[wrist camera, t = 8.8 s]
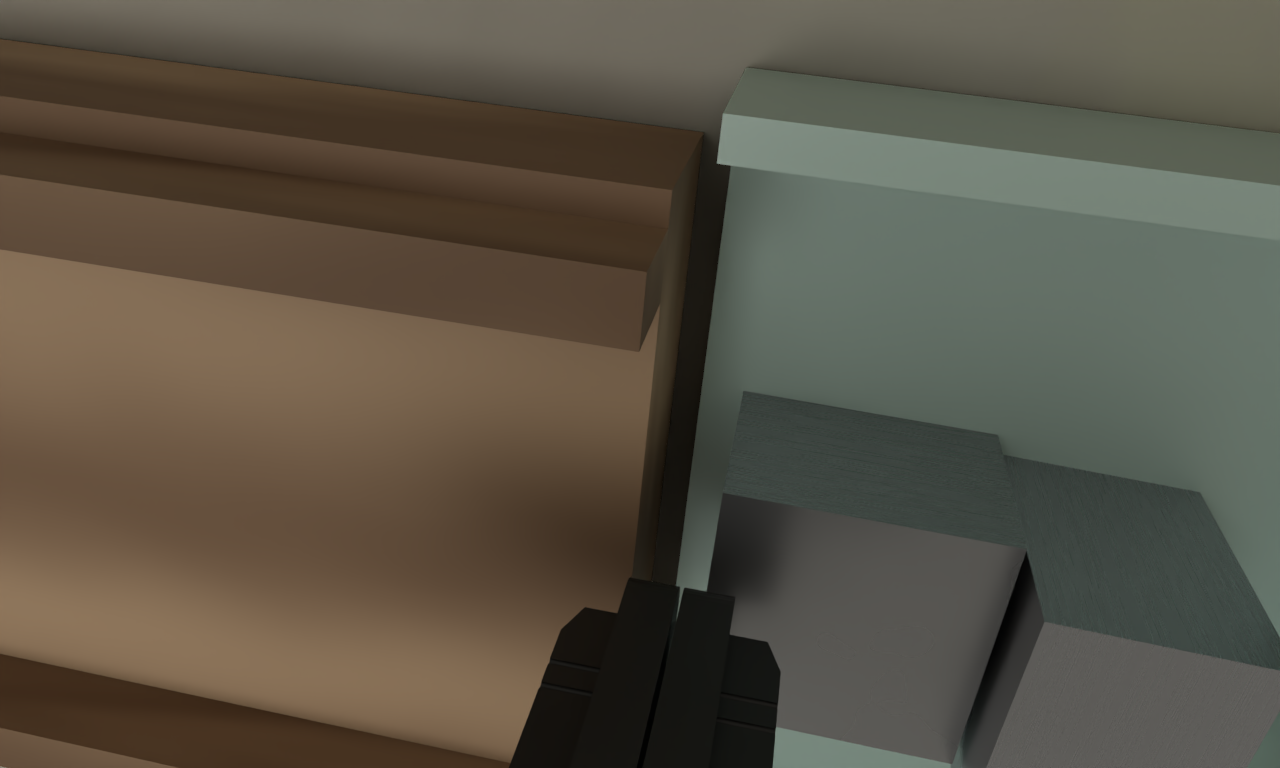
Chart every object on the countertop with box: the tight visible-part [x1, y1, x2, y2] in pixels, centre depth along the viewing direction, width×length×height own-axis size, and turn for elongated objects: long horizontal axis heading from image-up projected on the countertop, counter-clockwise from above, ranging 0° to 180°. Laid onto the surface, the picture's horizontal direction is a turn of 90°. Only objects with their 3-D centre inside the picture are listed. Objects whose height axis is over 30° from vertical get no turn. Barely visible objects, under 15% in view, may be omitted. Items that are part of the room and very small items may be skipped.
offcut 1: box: [707, 391, 1027, 764], centre depth 16 cm, size 4×4×3 cm
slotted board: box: [0, 39, 704, 768], centre depth 17 cm, size 12×20×4 cm, turn 85°
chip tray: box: [676, 67, 1280, 768], centre depth 16 cm, size 14×10×3 cm
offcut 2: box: [951, 455, 1280, 768], centre depth 15 cm, size 4×4×3 cm
